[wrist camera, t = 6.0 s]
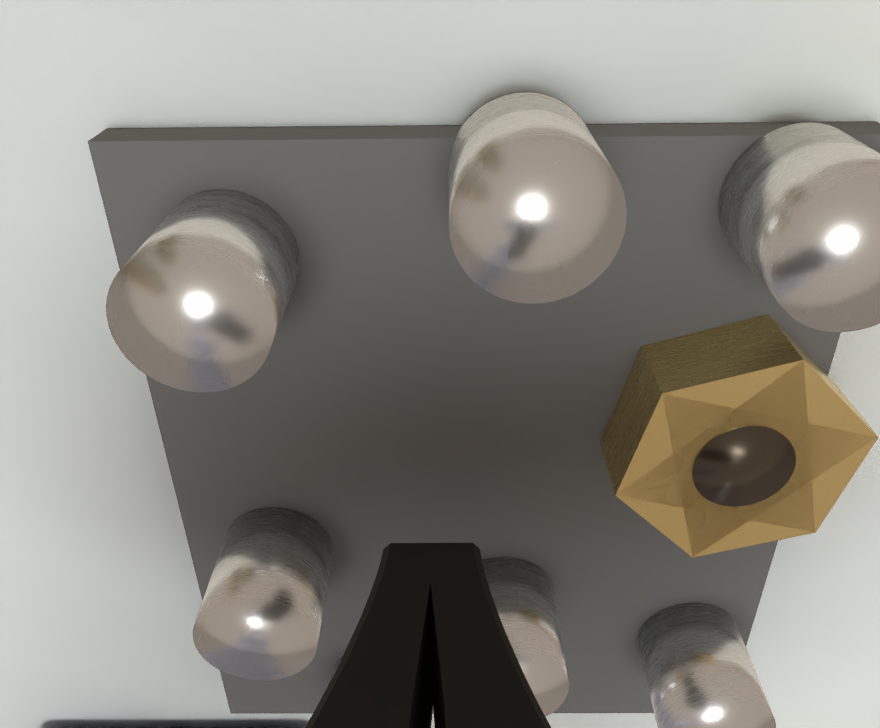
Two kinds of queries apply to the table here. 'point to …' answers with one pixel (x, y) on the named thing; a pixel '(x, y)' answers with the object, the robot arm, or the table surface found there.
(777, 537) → the nut
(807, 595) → the table surface
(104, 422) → the table surface
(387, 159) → the mat
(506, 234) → the spacers
